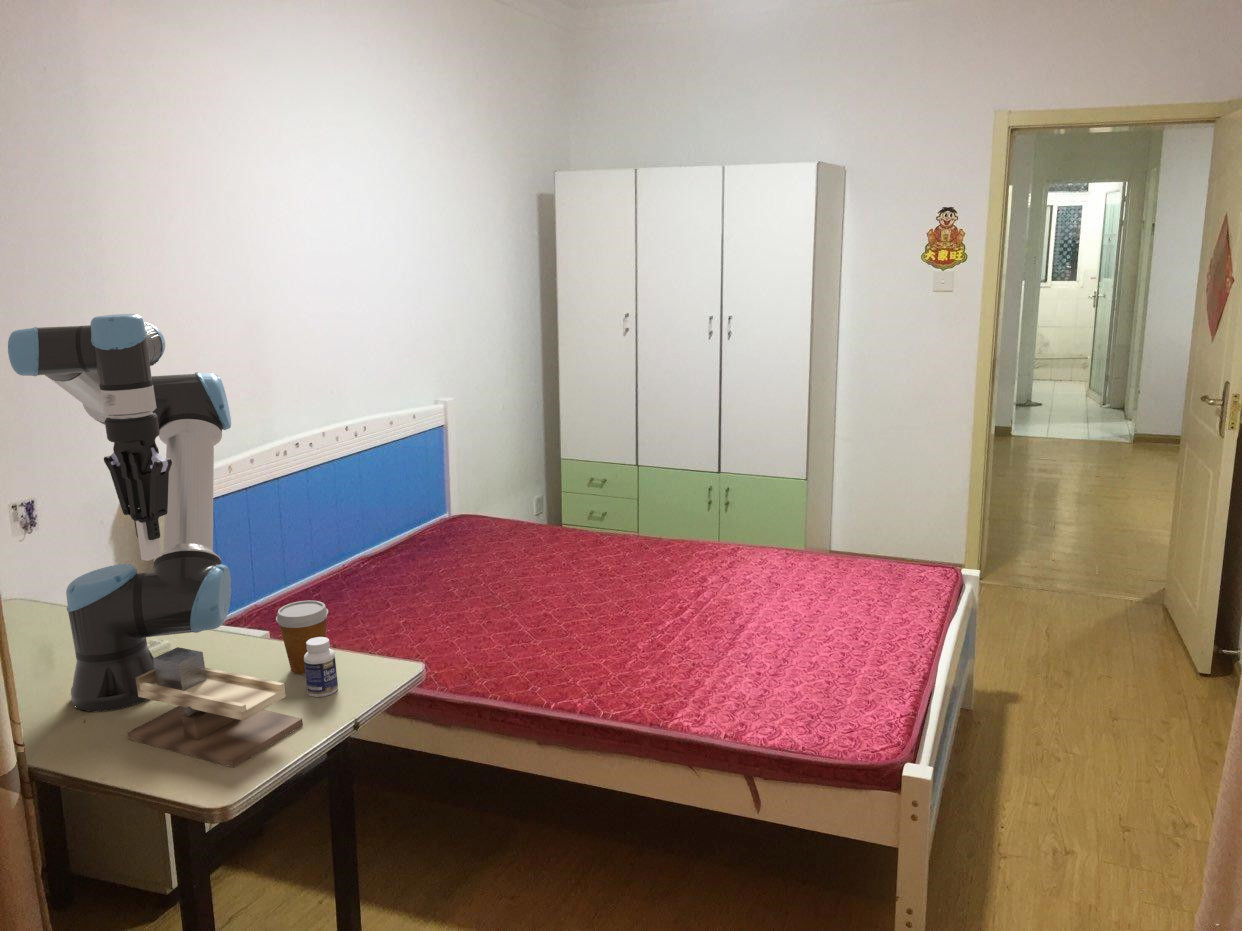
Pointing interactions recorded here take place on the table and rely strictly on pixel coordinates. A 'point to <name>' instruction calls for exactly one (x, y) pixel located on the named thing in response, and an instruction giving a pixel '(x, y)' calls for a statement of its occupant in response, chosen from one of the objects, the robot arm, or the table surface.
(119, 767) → the table surface
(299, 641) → the disposable coffee cup
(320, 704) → the table surface
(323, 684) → the pill bottle
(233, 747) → the stand
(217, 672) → the balance beam
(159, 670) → the block
